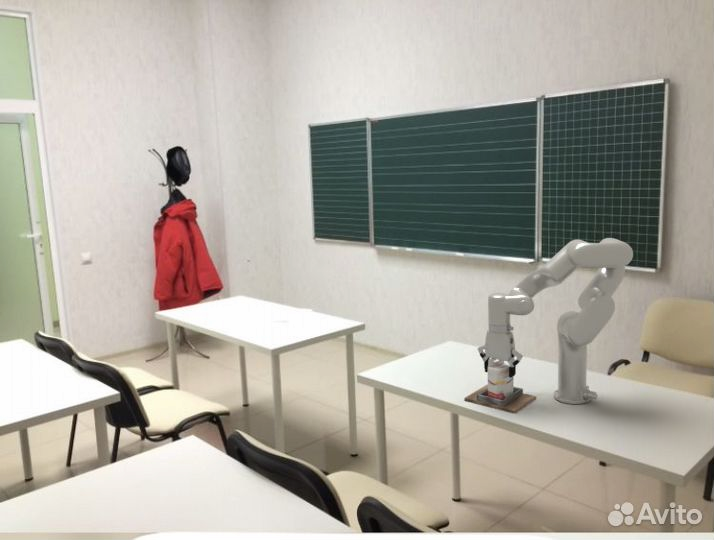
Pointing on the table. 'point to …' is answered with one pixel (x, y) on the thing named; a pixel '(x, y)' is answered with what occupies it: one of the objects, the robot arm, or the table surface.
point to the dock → (507, 404)
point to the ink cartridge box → (499, 380)
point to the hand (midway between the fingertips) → (499, 373)
